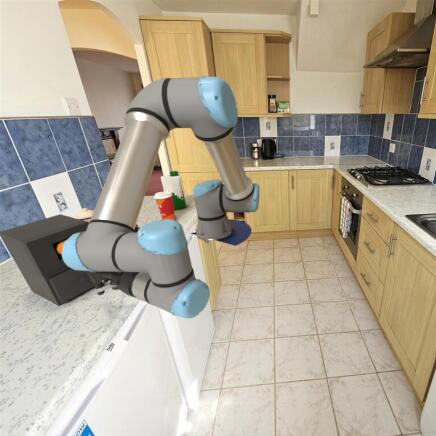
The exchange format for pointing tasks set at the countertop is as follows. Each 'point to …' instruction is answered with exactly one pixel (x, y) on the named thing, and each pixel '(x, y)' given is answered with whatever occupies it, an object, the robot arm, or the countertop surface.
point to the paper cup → (165, 205)
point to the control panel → (41, 242)
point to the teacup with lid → (84, 215)
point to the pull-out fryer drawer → (71, 283)
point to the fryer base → (43, 284)
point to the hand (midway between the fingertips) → (86, 259)
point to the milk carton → (174, 189)
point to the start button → (60, 247)
